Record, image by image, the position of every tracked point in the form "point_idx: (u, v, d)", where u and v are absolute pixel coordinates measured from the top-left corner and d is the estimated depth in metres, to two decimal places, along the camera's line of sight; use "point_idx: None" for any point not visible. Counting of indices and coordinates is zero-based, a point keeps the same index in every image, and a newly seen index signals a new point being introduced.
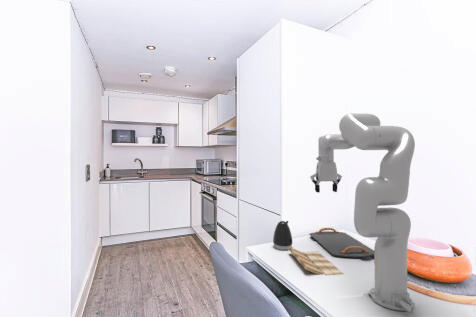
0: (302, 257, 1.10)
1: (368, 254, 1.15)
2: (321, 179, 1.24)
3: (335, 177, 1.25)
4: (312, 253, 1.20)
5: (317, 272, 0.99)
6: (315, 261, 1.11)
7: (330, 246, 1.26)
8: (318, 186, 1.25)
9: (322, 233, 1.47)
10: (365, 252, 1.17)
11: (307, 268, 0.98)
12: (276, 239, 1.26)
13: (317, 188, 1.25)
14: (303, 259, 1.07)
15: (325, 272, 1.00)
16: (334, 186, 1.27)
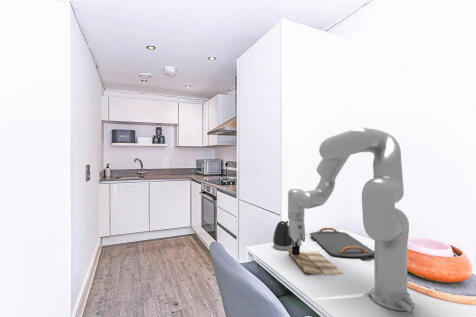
0: (302, 258, 1.10)
1: (366, 254, 1.15)
2: None
3: None
4: (312, 253, 1.20)
5: (317, 273, 0.99)
6: (315, 261, 1.11)
7: (329, 246, 1.26)
8: (299, 248, 1.13)
9: (322, 233, 1.48)
10: (364, 252, 1.17)
11: (306, 270, 0.98)
12: (276, 239, 1.26)
13: None
14: (302, 261, 1.07)
15: (325, 272, 1.00)
16: None
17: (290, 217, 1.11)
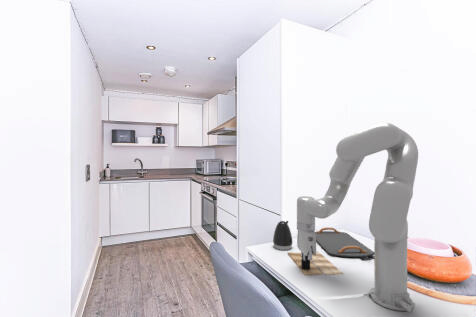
0: None
1: (365, 254, 1.15)
2: None
3: None
4: None
5: None
6: (315, 261, 1.11)
7: (328, 246, 1.27)
8: None
9: (323, 233, 1.48)
10: (362, 252, 1.17)
11: (306, 274, 0.98)
12: (276, 239, 1.26)
13: None
14: None
15: (325, 272, 1.00)
16: None
17: (299, 228, 1.00)
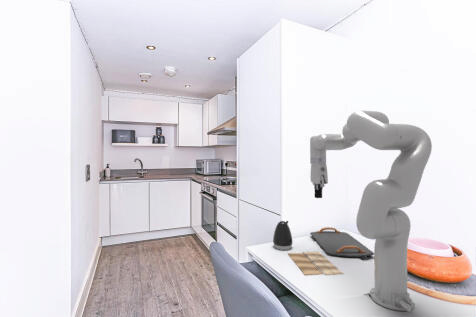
0: (301, 261, 1.10)
1: (364, 254, 1.16)
2: None
3: None
4: (312, 253, 1.20)
5: None
6: (315, 261, 1.11)
7: (328, 245, 1.27)
8: None
9: (323, 232, 1.48)
10: (361, 252, 1.17)
11: None
12: (276, 239, 1.26)
13: None
14: (302, 264, 1.07)
15: (325, 272, 1.00)
16: None
17: (313, 161, 1.17)
